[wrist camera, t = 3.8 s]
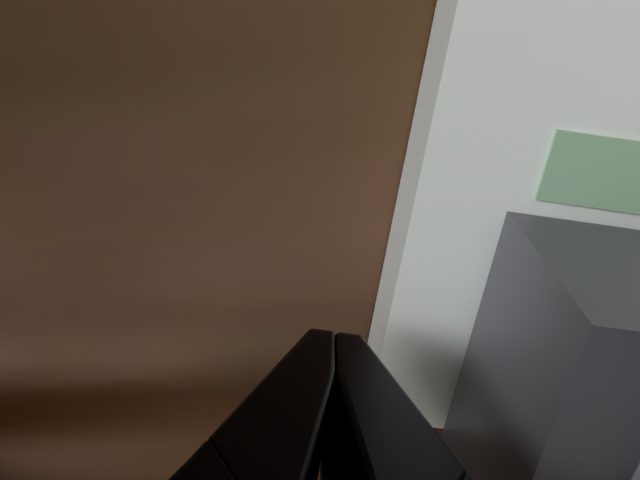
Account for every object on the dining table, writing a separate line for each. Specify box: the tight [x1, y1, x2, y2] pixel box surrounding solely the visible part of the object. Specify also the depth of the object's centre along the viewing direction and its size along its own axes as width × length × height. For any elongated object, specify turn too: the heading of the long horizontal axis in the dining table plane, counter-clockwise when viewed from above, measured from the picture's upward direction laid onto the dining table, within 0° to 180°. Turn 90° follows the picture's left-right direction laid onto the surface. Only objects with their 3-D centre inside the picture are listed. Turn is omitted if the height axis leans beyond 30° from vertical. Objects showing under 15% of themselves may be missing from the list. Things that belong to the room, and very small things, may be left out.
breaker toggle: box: [441, 211, 640, 480], centre depth 9 cm, size 5×3×4 cm, turn 172°
